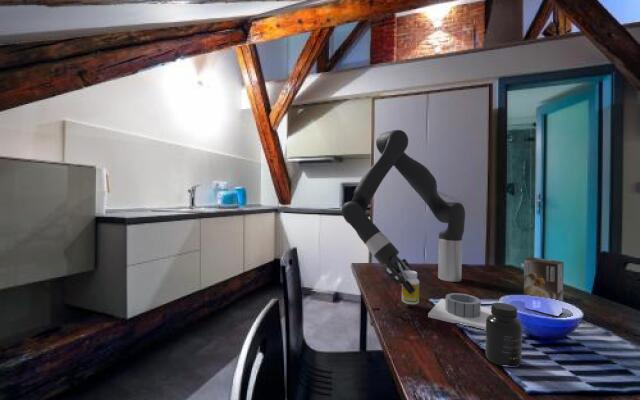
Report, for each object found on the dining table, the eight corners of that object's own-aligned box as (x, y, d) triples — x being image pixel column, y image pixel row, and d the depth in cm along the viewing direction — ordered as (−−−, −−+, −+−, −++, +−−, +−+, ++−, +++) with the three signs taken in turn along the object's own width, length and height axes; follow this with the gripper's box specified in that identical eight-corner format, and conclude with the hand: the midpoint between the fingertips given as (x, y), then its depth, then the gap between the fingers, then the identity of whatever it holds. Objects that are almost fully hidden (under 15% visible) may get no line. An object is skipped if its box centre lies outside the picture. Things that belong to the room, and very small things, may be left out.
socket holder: (441, 301, 102) (441, 286, 102) (495, 312, 93) (495, 296, 93) (427, 316, 89) (428, 300, 89) (489, 331, 80) (489, 313, 80)
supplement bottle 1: (420, 305, 94) (420, 274, 94) (402, 304, 95) (402, 273, 95) (418, 299, 99) (418, 270, 99) (401, 298, 101) (401, 269, 100)
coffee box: (564, 313, 93) (565, 261, 93) (557, 318, 89) (559, 264, 89) (529, 304, 100) (530, 256, 100) (522, 308, 97) (523, 258, 96)
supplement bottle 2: (478, 352, 69) (479, 300, 69) (506, 351, 70) (507, 300, 70) (498, 369, 62) (499, 312, 62) (529, 368, 63) (530, 311, 63)
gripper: (380, 244, 95) (417, 289, 89) (397, 238, 107) (431, 277, 100) (365, 259, 99) (400, 303, 92) (383, 251, 110) (415, 290, 104)
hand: (416, 289), depth 96 cm, fingers closed on supplement bottle 1, 5 cm apart
